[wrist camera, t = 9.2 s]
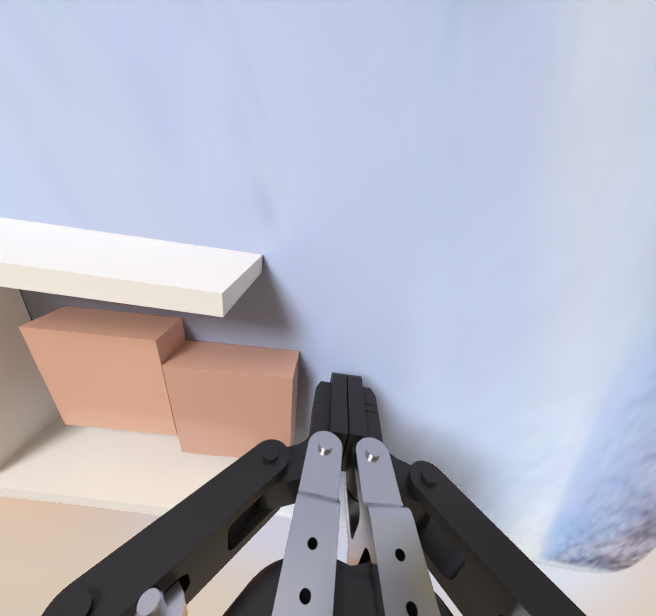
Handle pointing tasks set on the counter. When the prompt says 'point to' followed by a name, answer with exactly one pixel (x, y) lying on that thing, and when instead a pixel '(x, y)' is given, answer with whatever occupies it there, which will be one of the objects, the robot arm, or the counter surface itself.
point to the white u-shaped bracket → (32, 392)
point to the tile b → (231, 396)
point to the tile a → (107, 366)
